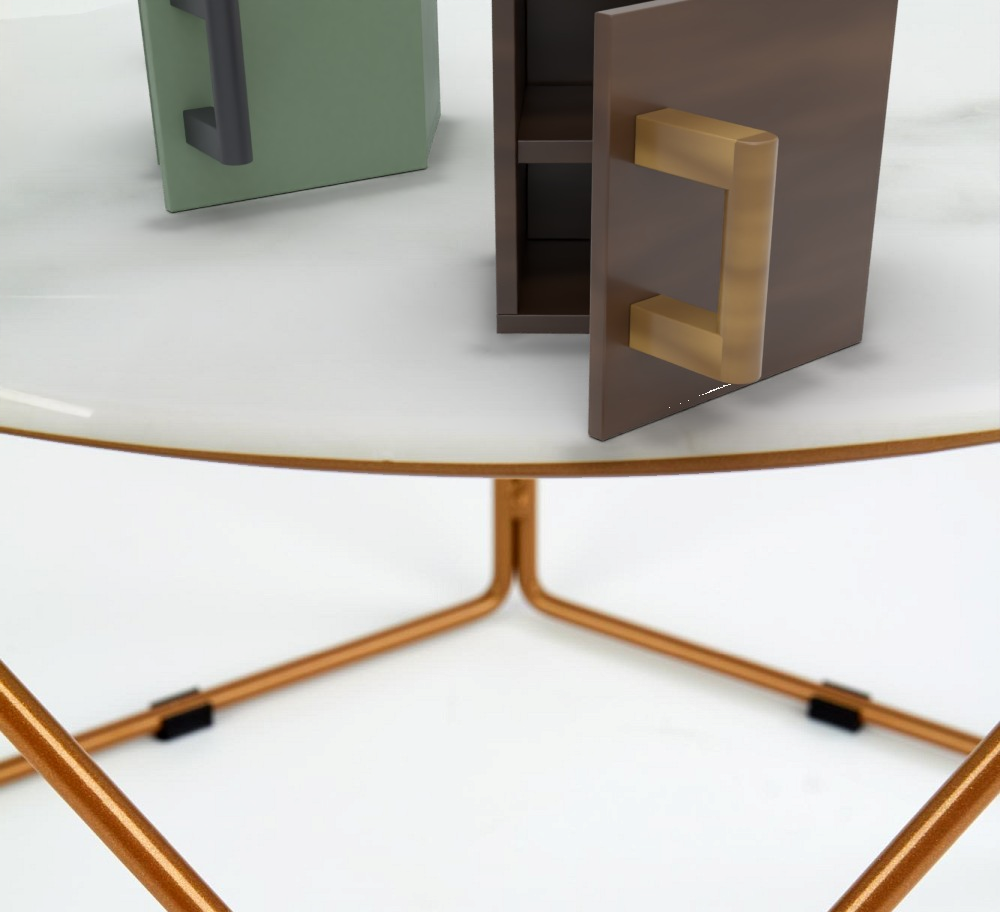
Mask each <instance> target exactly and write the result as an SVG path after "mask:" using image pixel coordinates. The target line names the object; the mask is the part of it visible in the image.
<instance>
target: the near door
mask: <svg viewBox="0 0 1000 912" xmlns="http://www.w3.org/2000/svg"><path fill="white" fill-rule="evenodd" d="M898 6H899V0H655V1H650V2H645V3H640V4H635V5H630V6H625V7H619V8H614V9H609V10H604V11H599V12H596V13H595V22H594V86H593V151H592V215H591V279H590V334H589V346H588V347H589V349H588V351H589V353H588V355H589V356H588V359H589V360H588V407H587V408H588V413H587V414H588V416H587V419H588V420H587V435H588V436H590V437H591V438H594V439H597V440H599V441H602V442H603V441H607V440H609V439H611V438H614V437H617V436H619V435H621V434H625V433H627V432H630V431H632V430H635V429H637V428H640V427H642V426H645V425H647V424H650V423H653V422H656V421H658V420H660V419H663V418H667V417H668V416H671V415H675V414H676V413H679V412H681V411H684V410H686V409H689V408H692V407H695V406H697V405H700V404H702V403H705V402H708V401H710V400H713V399H715V398H718V397H720V396H723V395H726V394H728V393H731V392H733V391H737V390H739V389H741V388H744V387H747V386H750V385H752V384H755V383H756V382H760V381H763V380H765V379H767V378H770V377H773V376H776V375H777V374H781V373H782V372H786V371H787V370H788V371H789V370H791V369H793V368H796V367H799V366H801V365H803V364H806V363H810V362H811V361H814V360H816V359H820V358H822V357H825V356H827V355H830V354H832V353H835V352H837V351H840V350H843V349H845V348H848V347H850V346H853V345H855V344H856V345H857V344H859V343H861V342H862V341H863V333H864V325H865V324H864V323H865V316H866V315H865V314H866V306H867V297H868V296H867V295H868V286H869V279H870V278H869V277H870V269H871V268H870V267H871V259H872V250H873V241H874V240H873V239H874V231H875V223H876V212H877V203H878V193H879V185H880V177H881V167H882V158H883V157H882V156H883V147H884V137H885V128H886V118H887V109H888V100H889V92H890V84H891V83H890V82H891V74H892V73H891V72H892V63H893V53H894V45H895V36H896V35H895V34H896V25H897V18H898V17H897V16H898ZM728 384H731V385H728ZM723 385H728V386H725V387H723ZM718 387H719V388H720V387H723V388H720V389H717V390H715V391H712V392H710V393H707V392H709V391H710V390H713V389H716V388H718ZM705 393H707V394H705ZM702 394H704V395H702ZM699 395H700V396H699ZM688 400H689V401H688ZM680 403H681V404H680ZM669 407H670V408H669Z"/></svg>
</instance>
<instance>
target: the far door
mask: <svg viewBox="0 0 1000 912" xmlns="http://www.w3.org/2000/svg"><path fill="white" fill-rule="evenodd" d="M140 3H141V11H142V20H143V28H144V36H145V44H146V52H147V61H148V69H149V77H150V85H151V93H152V102H153V110H154V118H155V126H156V134H157V143H158V151H159V159H160V165H159V167H160V176H161V182H162V183H161V184H162V189H163V190H162V192H163V200H164V206H165V207H164V208H165V210H166V211H168V212H170V213H175V212H177V213H178V212H182V211H188V210H193V209H198V208H199V209H200V208H204V207H210V206H217V205H223V204H227V203H229V204H230V203H235V202H240V201H245V200H251V199H257V198H263V197H268V196H269V197H270V196H274V195H279V194H285V193H291V192H298V191H303V190H308V189H314V188H315V189H316V188H322V187H326V186H331V185H337V184H342V183H343V184H344V183H350V182H355V181H361V180H366V179H372V178H379V177H383V176H384V177H385V176H390V175H395V174H401V173H406V172H412V171H418V170H424V169H428V158H427V147H426V120H425V93H424V66H423V39H422V12H421V0H140Z"/></svg>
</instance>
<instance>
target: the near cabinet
mask: <svg viewBox="0 0 1000 912" xmlns="http://www.w3.org/2000/svg"><path fill="white" fill-rule="evenodd" d="M650 1H655V0H491V44H492V45H491V53H492V54H491V55H492V61H491V62H492V116H493V117H492V119H493V122H492V123H493V176H494V177H493V180H494V182H493V183H494V184H493V185H494V187H493V189H494V190H493V191H494V244H495V246H494V247H495V248H494V249H495V250H494V251H495V304H496V305H495V308H496V309H495V311H496V317H495V319H496V334H499V335H500V334H501V335H503V334H505V335H507V334H512V335H513V334H514V335H515V334H516V335H517V334H518V335H522V334H524V335H525V334H526V335H528V334H529V335H531V334H532V335H548V334H549V335H562V334H563V335H590V279H591V215H592V151H593V86H594V22H595V13H596V12H599V11H604V10H609V9H614V8H619V7H625V6H630V5H635V4H640V3H645V2H650Z"/></svg>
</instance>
